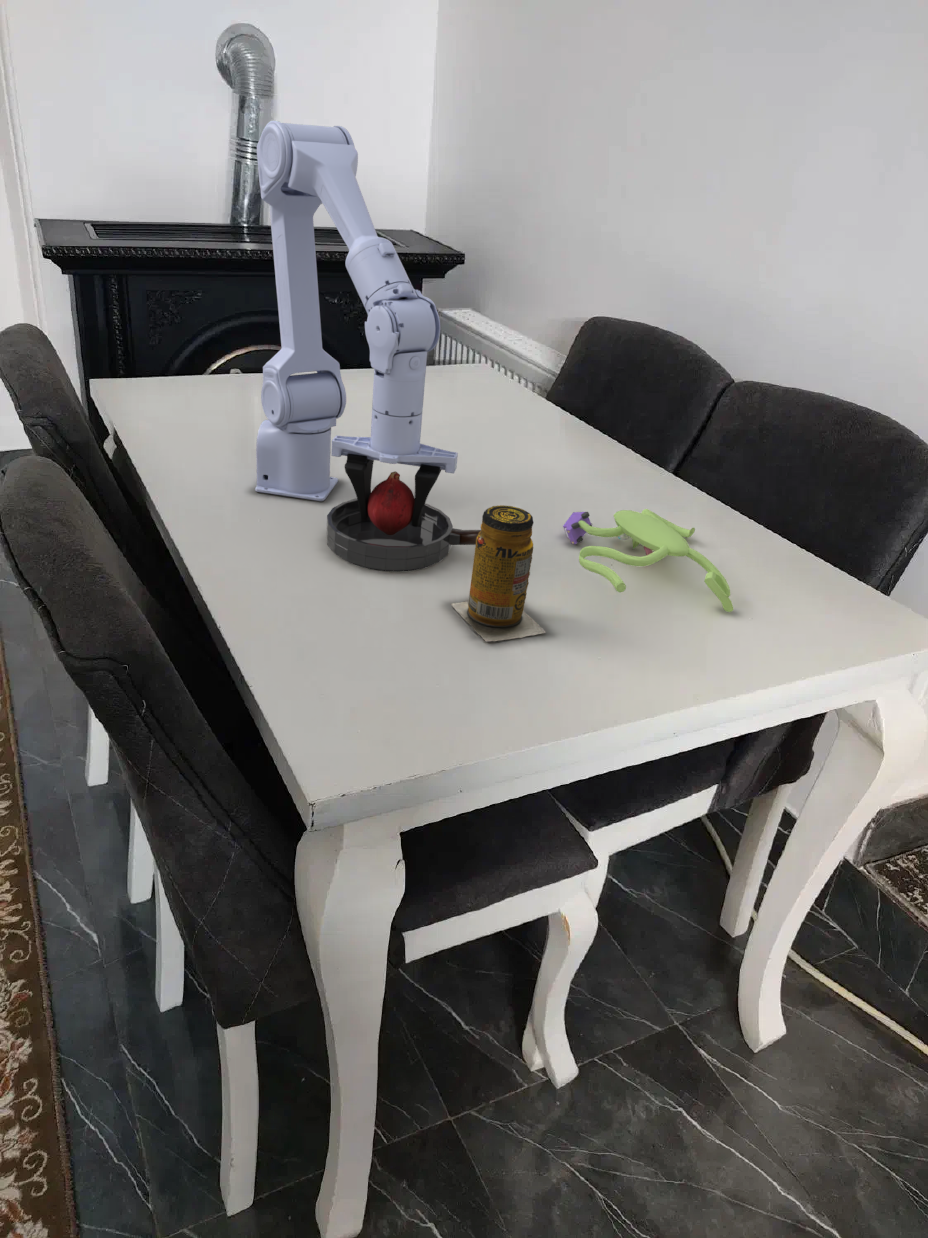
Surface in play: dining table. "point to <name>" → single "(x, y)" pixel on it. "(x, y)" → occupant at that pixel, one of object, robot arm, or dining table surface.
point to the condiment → (501, 576)
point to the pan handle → (463, 537)
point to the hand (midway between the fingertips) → (390, 519)
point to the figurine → (651, 536)
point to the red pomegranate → (391, 505)
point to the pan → (388, 540)
